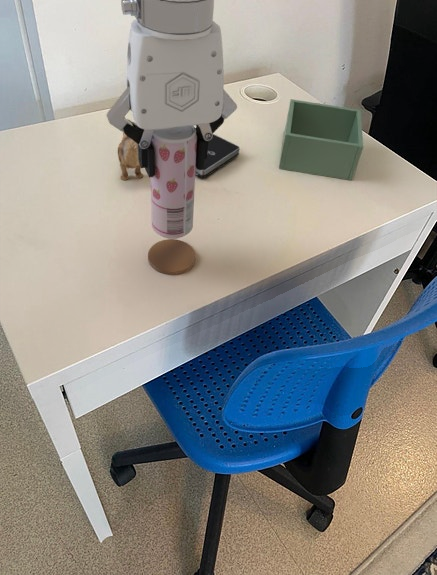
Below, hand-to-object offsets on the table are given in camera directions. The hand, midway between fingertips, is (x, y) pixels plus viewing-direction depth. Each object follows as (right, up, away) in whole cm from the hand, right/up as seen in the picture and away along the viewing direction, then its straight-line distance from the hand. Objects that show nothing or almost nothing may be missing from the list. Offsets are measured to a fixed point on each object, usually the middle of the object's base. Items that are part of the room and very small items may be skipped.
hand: (173, 166), depth 62 cm
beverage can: (-1, -7, +7) cm, 10 cm away
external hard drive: (+4, +8, +30) cm, 31 cm away
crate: (+25, +10, +34) cm, 43 cm away
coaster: (-1, -11, +12) cm, 16 cm away
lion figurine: (-9, +6, +26) cm, 29 cm away
